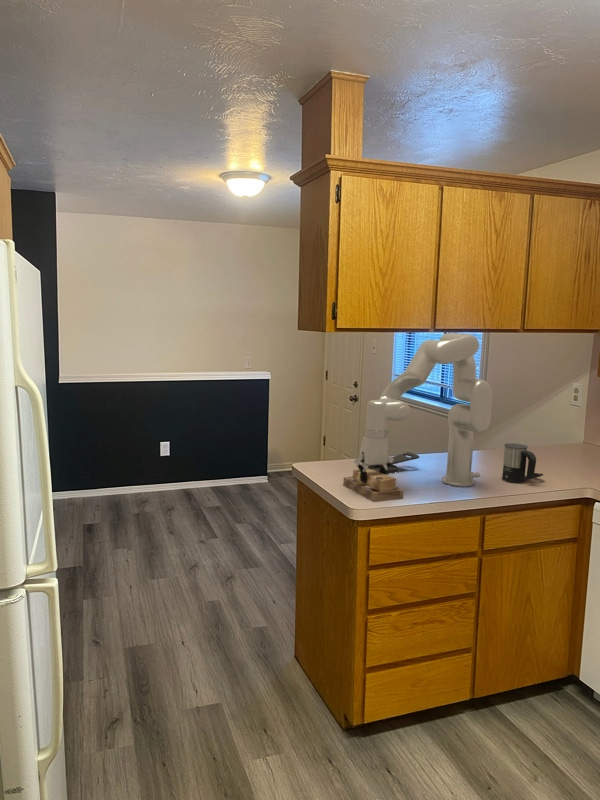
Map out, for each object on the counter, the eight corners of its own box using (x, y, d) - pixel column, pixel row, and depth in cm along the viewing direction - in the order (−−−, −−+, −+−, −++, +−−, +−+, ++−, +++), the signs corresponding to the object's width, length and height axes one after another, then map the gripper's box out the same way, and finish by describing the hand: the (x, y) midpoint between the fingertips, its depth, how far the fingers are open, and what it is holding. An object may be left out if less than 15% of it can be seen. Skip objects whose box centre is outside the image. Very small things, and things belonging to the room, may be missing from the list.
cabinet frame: (343, 485, 230) (343, 475, 229) (371, 482, 235) (371, 472, 235) (373, 501, 211) (374, 491, 210) (403, 498, 216) (403, 488, 215)
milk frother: (497, 480, 247) (500, 444, 245) (511, 473, 259) (515, 439, 257) (532, 487, 238) (536, 451, 236) (545, 480, 250) (549, 445, 248)
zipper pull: (421, 455, 256) (374, 460, 244) (420, 471, 257) (373, 476, 244) (408, 451, 263) (361, 455, 251) (407, 466, 264) (360, 471, 252)
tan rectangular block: (352, 480, 227) (353, 469, 226) (367, 478, 231) (367, 467, 230) (380, 491, 214) (381, 480, 213) (395, 489, 217) (396, 477, 217)
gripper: (390, 431, 227) (387, 476, 229) (350, 433, 219) (347, 480, 222) (401, 435, 220) (398, 481, 223) (360, 437, 213) (357, 485, 215)
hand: (372, 480), depth 222 cm, fingers closed on tan rectangular block, 7 cm apart
